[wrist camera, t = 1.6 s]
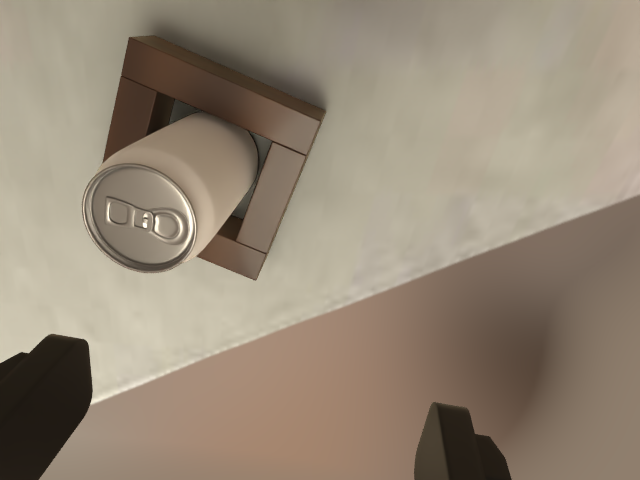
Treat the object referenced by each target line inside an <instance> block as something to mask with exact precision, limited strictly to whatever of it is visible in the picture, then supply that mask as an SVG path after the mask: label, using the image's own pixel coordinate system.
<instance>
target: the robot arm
mask: <svg viewBox="0 0 640 480" xmlns="http://www.w3.org/2000/svg"><path fill="white" fill-rule="evenodd" d="M92 392H93V389H92V377H91V366H90V355H89V346H88V343H87V341H86V340H84V339H79V338H73V337H68V336H62V335H56V334H50V335H48V336H47V337H45V338H44V339H43V340H42V341H41V342H40V343H39V344H38V345H37V346H36V347H35V348H34V349H33V350H32V351H31V352H30V353H29V354H28V353H23V352H21V353H19V354H17V355H15V356H13V357H11V358H9V359H7V360H6V361H4V362H2V363H0V480H39V478H40V477H41V476H42V474H43V473H44V472H45V470H46V469H47V468H48V466H49V465H50V463H51V462H52V461H53V459H54V458H55V456H56V455H57V453H58V452H59V451H60V450H61V448H62V447H63V445H64V444H65V443H66V441H67V440H68V438H69V437H70V436H71V434H72V433H73V432H74V430H75V429H76V428H77V426H78V425H79V423H80V422H81V421H82V419H83V418H84V416H85V414H86V413H87V411H88V408H89V406H90V403H91V399H92ZM414 477H415V480H511V476H510V473H509V470H508V466H507V463H506V459H505V457H504V456H503V455H502V453H501V452H500V450H499V449H498V448H497V446H496V445H495V444H494V442H493V441H492V439H491V438H490V437H489V436H483V435H478V434H475V433H474V429H473V425H472V421H471V416H470V413H469V410H468V409H467V408H465V407H459V406H453V405H447V404H442V403H436V402H433V403H432V405H431V407H430V410H429V413H428V416H427V419H426V422H425V426H424V429H423V432H422V435H421V438H420V442H419V445H418V448H417V452H416V458H415V469H414Z"/></svg>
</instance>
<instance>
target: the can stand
mask: <svg viewBox="0 0 640 480" xmlns="http://www.w3.org/2000/svg"><path fill="white" fill-rule="evenodd" d="M121 75H122V76H121V78H120V83H119V87H118V92H117V97H116V102H115V106H114V111H113V116H112V121H111V125H110V130H109V135H108V140H107V144H106V149H105V154H104V159H103V163H104V162H105V161H106V160H107V159H108V158H109V157H111V156H112V155H113V154H115V153H116V152H118V151H120V150H121V149H123V148H125V147H127V146H129V145H131V144H133V143H135V142H137V141H139V140H140V139H142V138H144V137H146V136H148V135H150V134H152V133H154V132H156V131H158V130H160V129H162V128H164V127H166V126H168V122H169V118H170V115H171V111H172V107H173V103H174V99H177V100H179V101H181V102H184V103H186V104H188V105H191V106H193V107H195V108H198V109H200V110H202V111H205V112H207V113H209V114H212V115H214V116H216V117H219V118H221V119H223V120H225V121H228V122H230V123H232V124H235V125H237V126H239V127H242V128H244V129H246V130H249V131H251V132H253V133H256V134H258V135H260V136H263V137H265V138H267V139H269V140H272V143H271V146H270V149H269V151H268V154H267V157H266V159H265V162H264V165H263V168H262V170H261V173H260V176H259V178H258V181H257V184H256V187H255V189H254V192H253V195H252V197H251V200H250V203H249V205H248V208H247V211H246V214H245V216H244V219H243V220H241V219H239V218H237V217H234V216H232V215H230V216H229V217H228V219H227V220H226V221H225V223H224V224H223V225H222V227H221V228H220V229H219V231H218V232H217V233H216V235H215V236H214V237H213V238H212V240H211V241H210V242H209V243H208V245H207V246H206V247H205V248H204V249H203V250H202V251H201V252H200V253H199V254H198V255H197V257H199V258H201V259H204V260H206V261H209V262H211V263H214V264H216V265H219V266H221V267H224V268H226V269H228V270H231V271H233V272H236V273H238V274H241V275H243V276H246V277H248V278H250V279H253V280H257V278H258V275H259V273H260V271H261V269H262V267H263V264H264V262H265V260H266V258H267V255H268V253H269V250H270V248H271V246H272V243H273V241H274V238H275V236H276V233H277V231H278V228H279V226H280V224H281V221H282V219H283V216H284V214H285V211H286V209H287V207H288V204H289V202H290V199H291V197H292V194H293V192H294V189H295V187H296V185H297V182H298V180H299V177H300V175H301V172H302V170H303V167H304V165H305V163H306V160H307V158H308V155H309V153H310V150H311V148H312V145H313V143H314V141H315V138H316V136H317V133H318V131H319V128H320V126H321V124H322V121H323V119H324V116H325V114H326V111H325V110H323V109H320V108H318V107H316V106H313V105H311V104H309V103H307V102H304V101H302V100H300V99H298V98H295V97H293V96H291V95H289V94H286V93H284V92H282V91H279V90H277V89H275V88H273V87H270V86H268V85H266V84H264V83H261V82H259V81H257V80H254V79H252V78H250V77H248V76H245V75H243V74H241V73H239V72H236V71H234V70H232V69H229V68H227V67H225V66H223V65H220V64H218V63H216V62H214V61H211V60H209V59H207V58H204V57H202V56H200V55H198V54H195V53H193V52H191V51H189V50H186V49H184V48H182V47H180V46H177V45H175V44H173V43H170V42H168V41H166V40H164V39H161V38H159V37H157V36H140V37H129V40H128V45H127V50H126V55H125V59H124V64H123V69H122V74H121ZM103 163H102V164H103Z"/></svg>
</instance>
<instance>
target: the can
mask: <svg viewBox="0 0 640 480" xmlns="http://www.w3.org/2000/svg"><path fill="white" fill-rule="evenodd" d="M257 172H258V153H257V148H256V145H255V143H254V141H253V139H252V137H251V135H250V134H249V132H248V131H247V130H246V129H244V128H242V127H239V126H237V125H235V124H232V123H230V122H228V121H225V120H223V119H221V118H219V117H216V116H214V115H212V114H209V113H207V112H205V111H203V112H197V113H194V114H191V115H189V116H187V117H184V118H182V119H180V120H178V121H176V122H174V123H172V124H170V125H168V126H166V127H164V128H162V129H160V130H158V131H156V132H154V133H152V134H150V135H148V136H146V137H144V138H142V139H140V140H139V141H137V142H135V143H133V144H131V145H129V146H127V147H125V148H123V149H121V150H120V151H118V152H116V153H115V154H113V155H112V156H111V157H109V158H108V159H107V160H106V161H105V162H104V163H103V164H102V165H101V166H100V168H99V169H98V171H97V173H96V175H95V176H94V177H93V178H92V180H91V181H90V182H89V184H88V186H87V188H86V190H85V192H84V196H83V201H82V214H83V220H84V223H85V226H86V229H87V231H88V233H89V235H90V237H91V239H92V240H93V242H94V243H95V244H96V246H97V247H98V248H99V249H100V250H101V251H102V252H103V253H104V254H105V255H106V256H107V257H108V258H110V259H111V260H112V261H114V262H115V263H117V264H119V265H121V266H123V267H125V268H127V269H130V270H133V271H137V272H143V273H159V272H164V271H168V270H170V269H173V268H175V267H176V266H178V265H179V264H181V263H184V262H186V261H189V260H190V259H192V258H194V257H195V256H197V255H198V254H199V253H200V252H201V251H202V250H203V249H204V248H205V247H206V246H207V245H208V243H209V242H210V241H211V240H212V238H213V237H214V236H215V235H216V233H217V232H218V231H219V229H220V228H221V227H222V225H223V224H224V223H225V221H226V220H227V219H228V217H229V216H230V215H231V213H232V212H233V211H234V209H235V208H236V207H237V205H238V204H239V203H240V201H241V200H242V198H243V197H244V196H245V194H246V193H247V192H248V190H249V189H250V187H251V186H252V184H253V183H254V181H255V179H256V176H257Z"/></svg>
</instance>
